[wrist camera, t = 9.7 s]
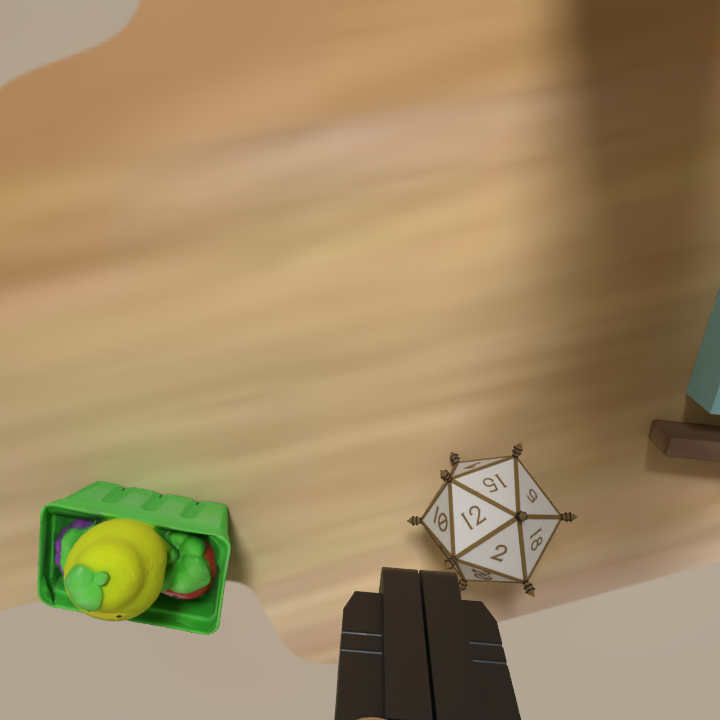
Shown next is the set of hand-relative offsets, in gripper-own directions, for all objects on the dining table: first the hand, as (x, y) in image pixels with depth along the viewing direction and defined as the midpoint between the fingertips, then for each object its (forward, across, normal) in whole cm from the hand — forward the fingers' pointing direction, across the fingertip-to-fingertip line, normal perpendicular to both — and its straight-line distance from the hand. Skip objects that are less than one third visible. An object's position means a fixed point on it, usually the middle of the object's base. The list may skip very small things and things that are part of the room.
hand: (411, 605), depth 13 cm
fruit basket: (+26, +14, +16) cm, 34 cm away
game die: (+26, -7, +12) cm, 30 cm away
